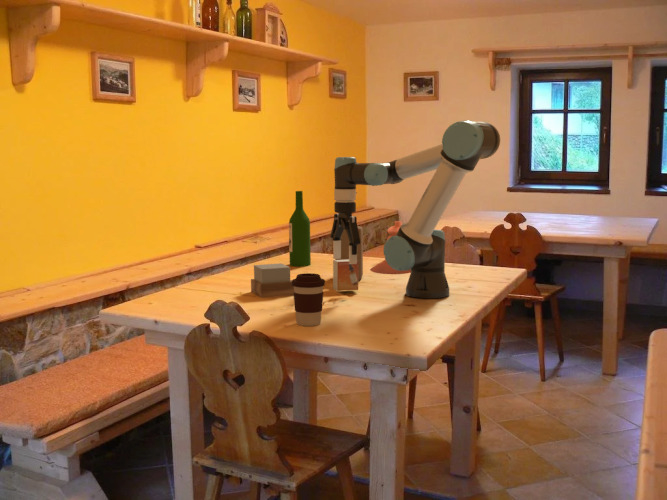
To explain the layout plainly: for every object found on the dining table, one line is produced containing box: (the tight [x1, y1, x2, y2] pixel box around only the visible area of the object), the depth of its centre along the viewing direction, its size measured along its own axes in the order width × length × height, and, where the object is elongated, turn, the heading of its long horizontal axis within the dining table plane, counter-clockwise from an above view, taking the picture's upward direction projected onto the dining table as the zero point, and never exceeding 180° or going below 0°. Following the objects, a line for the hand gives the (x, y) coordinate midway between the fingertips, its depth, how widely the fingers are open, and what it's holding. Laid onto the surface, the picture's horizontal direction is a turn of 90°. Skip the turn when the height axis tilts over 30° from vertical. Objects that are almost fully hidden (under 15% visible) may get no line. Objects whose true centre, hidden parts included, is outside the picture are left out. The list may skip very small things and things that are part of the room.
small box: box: [332, 259, 359, 292], centre depth 261 cm, size 8×6×10 cm
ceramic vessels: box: [369, 220, 411, 275], centre depth 308 cm, size 35×21×19 cm, turn 168°
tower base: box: [250, 278, 294, 299], centre depth 255 cm, size 12×12×5 cm
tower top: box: [253, 263, 291, 284], centre depth 254 cm, size 10×10×5 cm
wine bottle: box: [288, 190, 312, 268], centre depth 313 cm, size 9×9×32 cm
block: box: [334, 225, 364, 281], centre depth 284 cm, size 10×10×20 cm
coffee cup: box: [291, 272, 326, 327], centre depth 221 cm, size 10×10×15 cm
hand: (344, 261), depth 261 cm, fingers open, 13 cm apart
